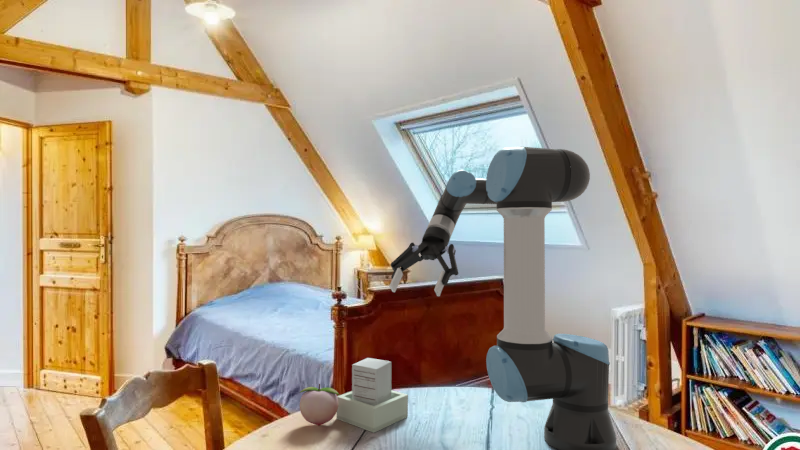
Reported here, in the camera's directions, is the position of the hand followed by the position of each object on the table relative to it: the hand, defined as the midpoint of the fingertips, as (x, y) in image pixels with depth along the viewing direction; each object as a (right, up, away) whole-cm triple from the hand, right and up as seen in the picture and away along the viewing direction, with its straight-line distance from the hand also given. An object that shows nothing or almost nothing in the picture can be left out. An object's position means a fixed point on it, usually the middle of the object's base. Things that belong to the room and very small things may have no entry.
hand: (413, 291), depth 138 cm
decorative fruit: (-23, -30, -17) cm, 41 cm away
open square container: (-11, -30, -11) cm, 34 cm away
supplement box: (-11, -29, -11) cm, 33 cm away
